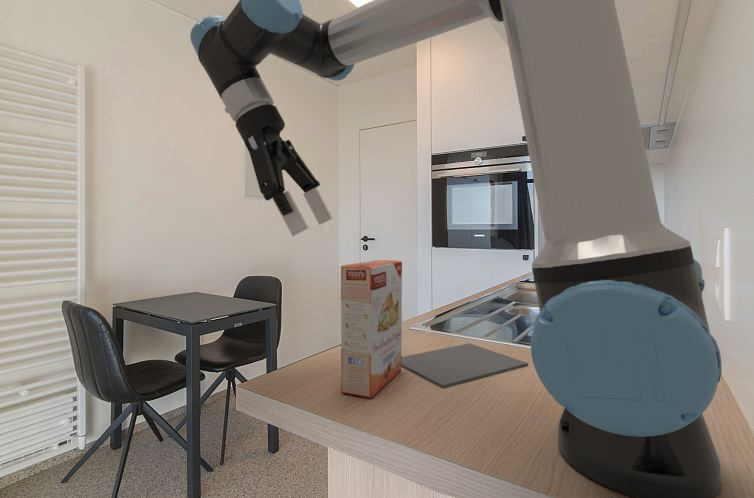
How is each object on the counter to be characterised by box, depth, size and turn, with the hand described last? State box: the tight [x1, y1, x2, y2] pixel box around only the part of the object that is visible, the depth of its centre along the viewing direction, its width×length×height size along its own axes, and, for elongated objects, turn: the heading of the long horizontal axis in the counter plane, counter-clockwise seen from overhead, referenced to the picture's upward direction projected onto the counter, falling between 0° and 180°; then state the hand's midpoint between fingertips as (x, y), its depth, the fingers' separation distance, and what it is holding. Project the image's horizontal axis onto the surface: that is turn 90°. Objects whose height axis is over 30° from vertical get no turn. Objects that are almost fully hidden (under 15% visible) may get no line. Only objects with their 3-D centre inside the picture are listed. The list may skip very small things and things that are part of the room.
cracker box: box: [340, 259, 403, 399], centre depth 68 cm, size 14×6×21 cm, turn 156°
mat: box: [401, 343, 529, 389], centre depth 77 cm, size 16×21×1 cm
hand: (314, 226), depth 68 cm, fingers open, 13 cm apart
